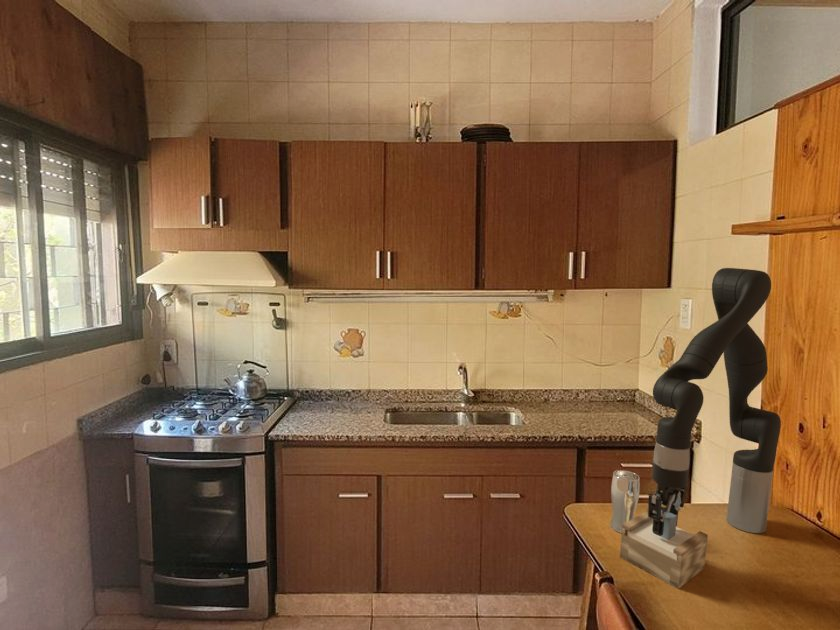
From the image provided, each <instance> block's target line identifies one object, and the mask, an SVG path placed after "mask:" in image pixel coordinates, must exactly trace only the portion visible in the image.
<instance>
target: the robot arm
mask: <svg viewBox="0 0 840 630" xmlns="http://www.w3.org/2000/svg"><path fill="white" fill-rule="evenodd" d="M711 282H712V283H711V295H712V300H713V304H714V307H715V312H716V316H717V320H715V322H713V323H712V324H709V325H708V326H706V327H705V328H703V329H702V330H700V331H699V332H697V334H696V335H695V336H694V337H693V338H692V339H691V340H690V342H689V343H688V344H687V346H686V348H685V350H684V351H683V353H682V355H680V358H679V359H678V360H676V362H674V363H673V364H672V365H671V366H670V367H669V368H668V369H667V370H666V371H664V372H663V373H661V375H660V376H659V377H658V378H657V379H656V381H655V383H654V384H653V388H652V397H653V399H654V401H655V402H656V404H658V405H659V406H660V405H661V406H662V407H665V408H669V409H672V410H675V411H676V413H675V416H674V417H673V416H665V417H661V418H659V420H658V422H657V427H656V428H657V429H656V437H655V438H656V439H655V446H654V451H653V457H652V458H653V460H652V469H651V472H652V473H651V477H652V480H653V481H654V482H655V483H656V484H657V487H656V488H655V493H649V494H648V503H647V504H648V508H647V509H648V510H647V511H648V517H650V518H652V519H653V529H652V531H653V533H654V534H656V535H659V536H662V535H663V530H664V519H665V516H666V513H668V512H670V513H672V514H674V515H677V521H676V527H677V526H678V517H679V513H680V512H681V508H684V507H685V502H686V501H685V499H686V492H687V488H688V481H689V471H690V461H691V453H690V452H691V451H690V450H691V449H690V448H691V438H692V430H693V428H694V426H695V423H696V421H697V419H698V416H699V413H700V412H701V410H702V407H703V405H704V398H705V397H704V393H703V390H702V388H701V387H700V386H699V385H697V384H696V383H694V382H691V381H692V380H706V379H707V378H708V377H709V376H710V375H711V373H712V372H713V370H714V368H715V367H716V365H717V363H718V362H719V360H720V358H721V356H722V355H723V359H724V360H723V361H724V368H725V373H726V377H727V378H726V380H727V385H728V386H727V387H728V398H729V399H728V400H729V401H728V403H729V404H728V405H729V406H728V407H729V409H728V411H729V413H728V414H729V427H730V431H731V433H732V435H733V436H735V437H736V438H738V439H741V440H745V441H748V442H753V443H756V444H758V448H755V449H739V450H735V452H734V453H733V457H732V464H731V465H732V466H731V467H732V468H731V477H730V485H729V493H728V503H727V512H726V522H727V523H728V524H730V525H731V526H732V527H733V528H736V529H738V530H740V531H744V532H747V533H752V534H763V533H765V532H766V530H767V525H768V516H769V508H770V507H769V506H770V501H771V491H772V482H773V476H774V475H773V474H774V467H775V466H774V465H775V463H776V462H775V461H776V456H777V448H778V444H779V438H780V434H781V430H782V429H781V428H782V419H781V418H780V415H779V414H778V413H776V412H774V411H771V410H770V411H769V410H765V409H762V408H757V407H752V406H750V405H749V403H748V397H749V396H750V395H751V393H752V392H753V391H754V389H756V388H757V387H758V386H759V385H760V383H761V382H763V381H764V380H765V378H766V375H767V373H768V370H769V369H768V357H767V356H768V355H767V348H766V347H765V345H764V342H763V341H762V339H761V338H760V337H759V336H758V334H757V333H756V332H755V331H754V329H753V328H752V327H751V326H750V325H749V322H750V321H751V320H752V318H754V316H755V315H756V314H757V313H758V312H759V310H760V309H762V307H763V306H764V304H765V303H766V301H767V300H768V298H769V296H770V295H771V294H770V293H771V290H772V279H771V278H770V275H769V274H768V273H767V272H766V271H762V270H757V269H747V268H738V267H737V268H736V267H723V268H721V269H719V270H717V271H716V273H715V274H714V276H713V278H712V281H711ZM664 506H665V507H664ZM661 510H662V514H661Z"/></svg>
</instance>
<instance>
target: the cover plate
mask: <svg viewBox="0 0 840 630" xmlns="http://www.w3.org/2000/svg"><path fill="white" fill-rule="evenodd" d="M661 514H662V510H661ZM676 521H677V522H678V520H677V515H674V514H672V513H670V512H668V513H666V516H665V519H664V530H663V535H662V536H659V535H656V534H654V533H653V531H652V529H653V519H652V518H651V519H649V520H648V521H646V522H644V523H642V524H641V525H639V526H637V527H635V528H634V529H632V530H630V531H627V536H629V537H631V538H633V539H635V540H637V541H639V542H641V543H643V544H645V545H647V546H649V547H651V548H653V549H655V550H657V551H659V552H661V553H663V554H665V555H667V556H669V557H671V558H673V559H675V560H678V555H677V554H675V553H673V551H674V549H675V548H676V547H678V546H679V545H681V544H682V543H683V542H685V541H686V540H688V539H689V538H691V537H692V536H694V535H695V534H693V533H691V532H689V531H687V530H684V529H683V528H680V527H677V526H676Z"/></svg>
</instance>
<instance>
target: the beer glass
mask: <svg viewBox="0 0 840 630" xmlns="http://www.w3.org/2000/svg"><path fill="white" fill-rule="evenodd" d="M640 488H641V487H640V476H639V475H638V474H637V473H634V472H632V471H630V470H624V469H623V470H621V469H616V470H614V471H613V473H612V479H611V487H610V498H611V506H612V516H611V520H610V522H609V527H610V526H611V527H610V528H611V530H613V529H614V530H615V532H616V531H617V533H619V532H620V533H619V534H622V525H623V524H624V523H626V522H628V521H630V520H632V519H633V518H635V513H636V510H637V506H638V502H639V498H640ZM614 530H613V531H614Z"/></svg>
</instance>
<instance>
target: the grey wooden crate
mask: <svg viewBox="0 0 840 630" xmlns="http://www.w3.org/2000/svg"><path fill="white" fill-rule="evenodd" d="M649 519H651V518H650V517H648V510H646V511H644V512H643V513H641V514H639V515H637V516H636V517H635V516H634V518H633V519H632V520H630V521H628V522H626V523H624V524H623V525H622V533H621V539H620V551H619V558H621V559H622V558H623V560H625V561H626V562H628V563H630V564H632V565H633V566H636V567H638V568H640V569H641V570H644V571H645V572H646V573H648V574H650V575H652V576H655V578H658V579H659V580H661V581H663V582H665V583H667V584H668V585H670V586H673V587H674V588H676V589H680V588H681V587H683V586H684V585H685V584H687V582H688V581H690V580H692V578H695V576H696V575H698V574H699V573H701V571H703V570H704V569H705V565H706V557H707V555H706V554H707V547H708V537H709V536H708V535H709V534H707V533H705V532H702V531H698V532H696V533H695V534H694V536H692V537H691V538H689V539H688V540H686V541H685V542H683V543H682V544H681V545H679V546H678V547H676V548H675V549H674V551H673V553H675V554H677V555H678V560H675V559H673V558H671V557H669V556H667V555H665V554H663V553H661V552H659V551H657V550H655V549H653V548H651V547H649V546H647V545H645V544H643V543H641V542H639V541H637V540H635V539H633V538H631V537H629V536H627V531H630V530H632V529H634V528H635V527H637V526H639V525H641V524H642V523H644V522H646V521H648V520H649Z"/></svg>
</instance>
